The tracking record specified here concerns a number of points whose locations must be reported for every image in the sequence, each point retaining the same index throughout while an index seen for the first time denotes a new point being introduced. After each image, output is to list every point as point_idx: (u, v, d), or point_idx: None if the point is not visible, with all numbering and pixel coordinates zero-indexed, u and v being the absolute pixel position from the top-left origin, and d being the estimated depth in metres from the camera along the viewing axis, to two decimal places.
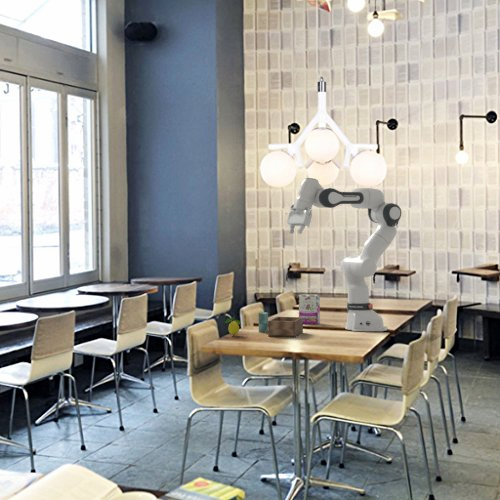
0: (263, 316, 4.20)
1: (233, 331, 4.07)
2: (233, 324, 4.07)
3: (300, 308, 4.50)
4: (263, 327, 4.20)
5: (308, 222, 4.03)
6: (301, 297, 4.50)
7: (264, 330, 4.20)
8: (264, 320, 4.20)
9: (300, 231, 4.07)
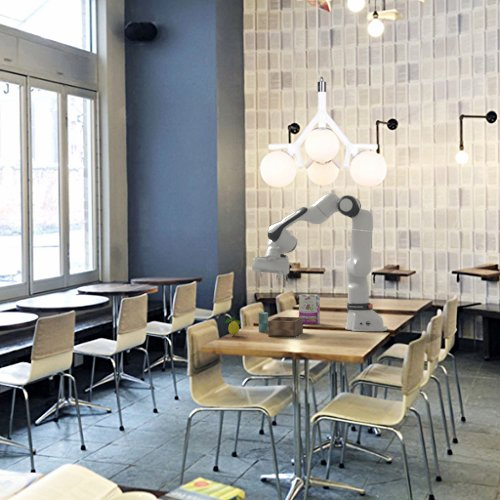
0: (263, 316, 4.20)
1: (233, 331, 4.07)
2: (233, 324, 4.07)
3: (300, 308, 4.50)
4: (263, 327, 4.20)
5: (252, 266, 4.35)
6: (301, 297, 4.50)
7: (264, 330, 4.20)
8: (264, 320, 4.20)
9: (259, 275, 4.31)
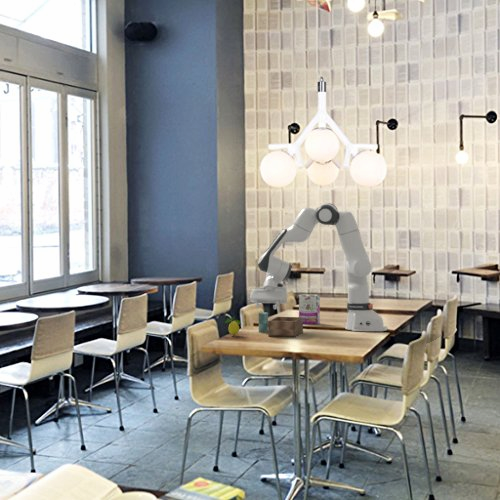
0: (263, 316, 4.20)
1: (233, 331, 4.07)
2: (233, 324, 4.07)
3: (300, 308, 4.50)
4: (263, 327, 4.20)
5: None
6: (301, 297, 4.50)
7: (264, 330, 4.20)
8: (264, 320, 4.20)
9: None
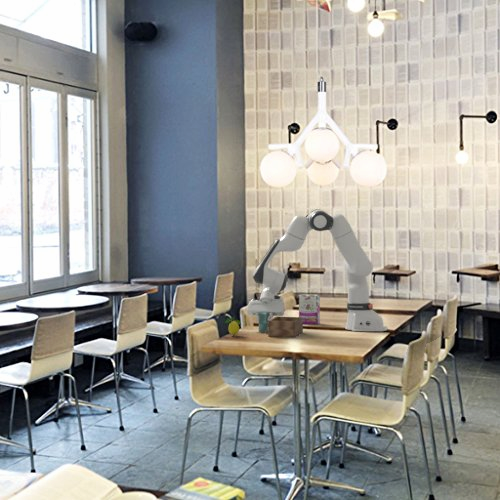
0: (263, 316, 4.20)
1: (233, 331, 4.07)
2: (233, 324, 4.07)
3: (300, 308, 4.50)
4: (263, 327, 4.20)
5: None
6: (301, 297, 4.50)
7: (264, 330, 4.20)
8: (264, 320, 4.20)
9: None
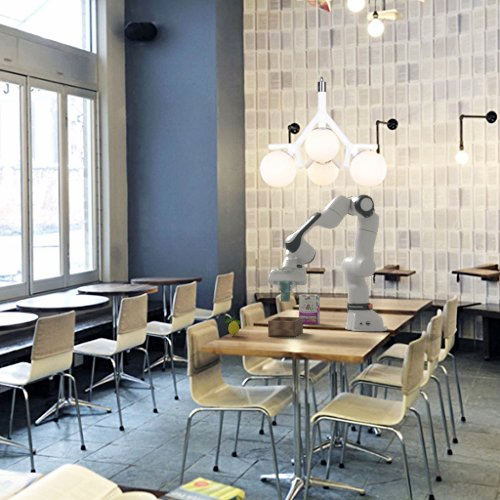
0: (285, 284, 4.08)
1: (233, 331, 4.07)
2: (233, 324, 4.07)
3: (300, 308, 4.50)
4: (285, 296, 4.09)
5: None
6: (301, 297, 4.50)
7: (286, 299, 4.09)
8: (286, 289, 4.08)
9: None
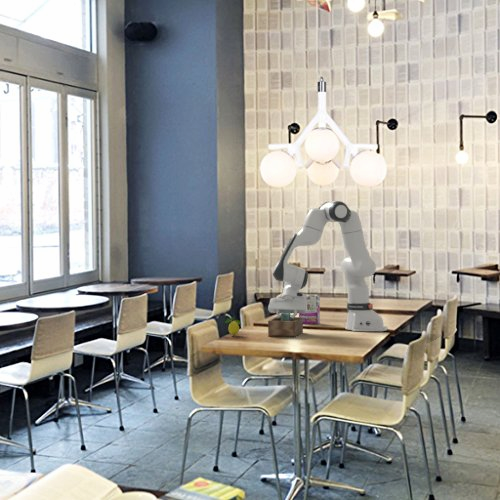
0: (285, 316, 4.09)
1: (233, 331, 4.07)
2: (233, 324, 4.07)
3: None
4: None
5: None
6: None
7: None
8: None
9: None
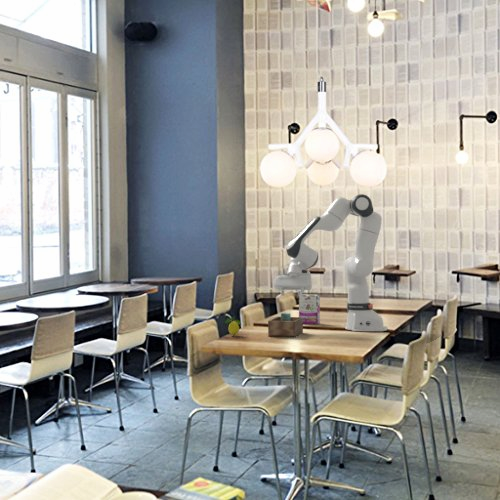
0: (285, 316, 4.09)
1: (233, 331, 4.07)
2: (233, 324, 4.07)
3: (300, 308, 4.50)
4: None
5: None
6: (301, 297, 4.50)
7: None
8: None
9: None
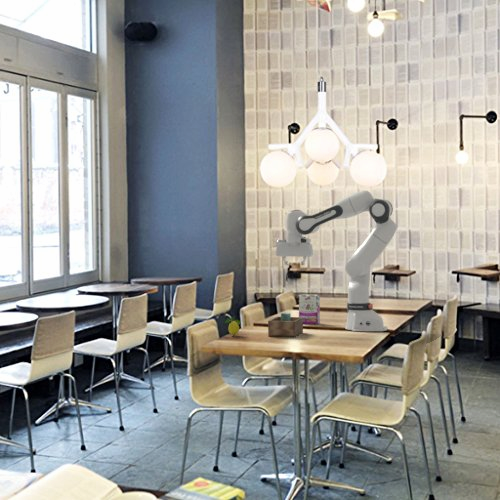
0: (285, 316, 4.09)
1: (233, 331, 4.07)
2: (233, 324, 4.07)
3: (300, 308, 4.50)
4: None
5: None
6: (301, 297, 4.50)
7: None
8: None
9: None
